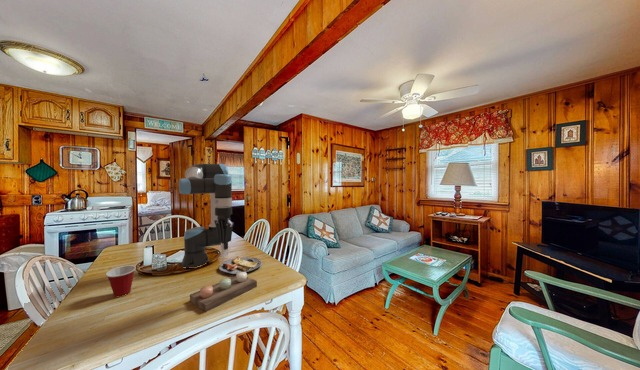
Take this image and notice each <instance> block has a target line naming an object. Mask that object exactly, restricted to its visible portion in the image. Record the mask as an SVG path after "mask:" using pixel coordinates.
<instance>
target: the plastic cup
mask: <svg viewBox="0 0 640 370" xmlns="http://www.w3.org/2000/svg"><path fill="white" fill-rule="evenodd" d="M136 270H137V267H136V266H135V265H133V264H131V265H130V264H129V265H121V266H117V267H115V268H112V269H110V270H108V271H107V272H106V273H105V277H107V279H108V281H109V284H110V288H111V290H112V292H113V296H122V295H125V294H127V295H129V294H130V293H131V291H132V285H133V279H134V274H135V271H136ZM129 292H130V293H129ZM128 293H129V294H128ZM125 296H126V295H125ZM122 297H123V296H122Z"/></svg>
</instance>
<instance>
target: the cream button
mask: <svg viewBox="0 0 640 370" xmlns="http://www.w3.org/2000/svg"><path fill="white" fill-rule="evenodd" d="M235 276H236V281H237V282H244V281H246V280H247V277H248V273H247V272H243V271H240V273H239V272H238V273H237V274H235Z"/></svg>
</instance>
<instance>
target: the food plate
mask: <svg viewBox="0 0 640 370" xmlns="http://www.w3.org/2000/svg"><path fill="white" fill-rule="evenodd" d="M262 264H263V261H262V260H260V259H259V258H256V257H250V256H249V257H248V256H246V257H244V256H243V257H239V256H236V257H235V258H232V259H228V260H225V261H223V262H222V263H221V264H219V266H218V270H219V271H221V272H224V273H226V274H231V275H236V274H237V273H240V272H246V273H247V272H251V271H254V270H256V269H258V268H259V267H261V266H262Z"/></svg>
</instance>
